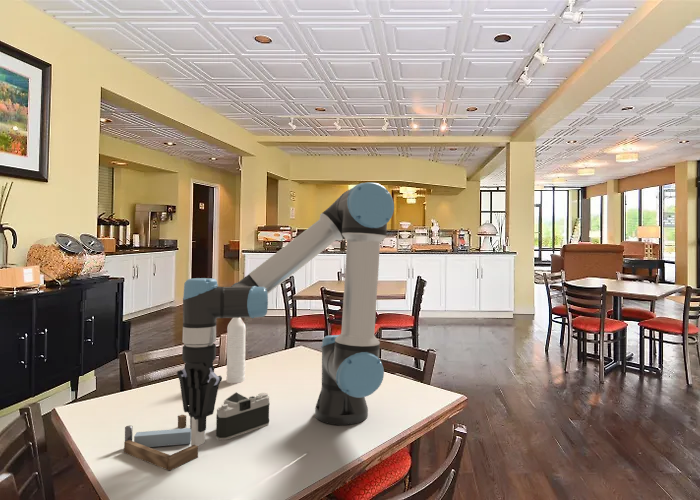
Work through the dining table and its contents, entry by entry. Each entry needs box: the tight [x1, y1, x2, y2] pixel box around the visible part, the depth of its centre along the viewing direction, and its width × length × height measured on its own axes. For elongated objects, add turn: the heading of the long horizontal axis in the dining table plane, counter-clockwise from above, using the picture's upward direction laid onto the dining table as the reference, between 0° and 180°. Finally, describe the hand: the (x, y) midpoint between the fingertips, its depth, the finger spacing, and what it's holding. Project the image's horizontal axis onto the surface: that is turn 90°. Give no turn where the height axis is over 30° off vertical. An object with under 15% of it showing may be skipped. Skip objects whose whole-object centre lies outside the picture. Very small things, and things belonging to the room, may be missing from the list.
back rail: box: [123, 440, 171, 471], centre depth 100 cm, size 15×1×2 cm, turn 59°
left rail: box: [167, 445, 199, 471], centre depth 99 cm, size 1×7×2 cm, turn 149°
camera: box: [215, 392, 270, 441], centre depth 119 cm, size 16×9×10 cm, turn 139°
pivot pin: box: [124, 425, 133, 442], centre depth 106 cm, size 2×2×5 cm
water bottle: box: [226, 318, 247, 384], centre depth 162 cm, size 9×6×25 cm
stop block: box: [177, 414, 187, 429], centre depth 119 cm, size 2×1×3 cm
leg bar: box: [133, 427, 191, 448], centre depth 108 cm, size 12×3×3 cm, turn 104°
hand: (197, 444), depth 105 cm, fingers closed
